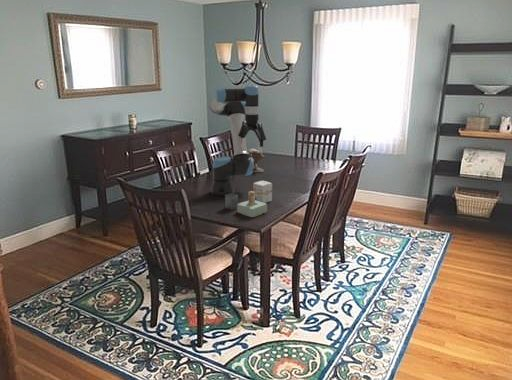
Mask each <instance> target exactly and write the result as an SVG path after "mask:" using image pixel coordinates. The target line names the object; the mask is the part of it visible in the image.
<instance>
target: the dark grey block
mask: <svg viewBox="0 0 512 380" xmlns="http://www.w3.org/2000/svg"><path fill="white" fill-rule="evenodd" d="M224 204H225V206H224V207H225V209H227V210H230V211H233V210H237V204H239V194H237V193H230V194H227V195H225V196H224Z"/></svg>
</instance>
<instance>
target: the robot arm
mask: <svg viewBox="0 0 512 380" xmlns="http://www.w3.org/2000/svg"><path fill="white" fill-rule="evenodd" d="M209 109H210V110H211V112H212V113H213V114H215V115H216V116H217V115H218V116H224V117H225V116H227V117H226V118H227V120H229V121H230V129H231V130H230V131H231V140H232V146H233V155H232V158H231V156H226V155H225V156H219V157H216V158H214V159H213V160H212V186H211V188H210V193H211V194H212V195H213V196H218V197H219V196H224V197H225V195H227V194H230V193H234V192H235V189H234V186H233V183H232V177H246V176H251V175H252V174H253V173H252V172H253V167H254V161H253V158H252V157H250V154H249V152H248V149H247V138H246V136H247V134H248V133H249V132H250V131H253V132H254V133H255V136H256V137H257V139H258V142H257V143H258V144H257V147H258V148H257V150H258V153H260V152H261V153H263V147H264V141H267V137H266V135H265V132H264V128H263V123H262V122H260V123H258V121H259V86H258V85H246V86H245V87H244V88H217V89H216V90H215V97H213V99H211V100H210V103H209ZM234 194H235V193H234Z"/></svg>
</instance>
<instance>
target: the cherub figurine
mask: <svg viewBox="0 0 512 380" xmlns="http://www.w3.org/2000/svg"><path fill="white" fill-rule="evenodd" d="M247 153H249V154H250V157H252V158H253V161H254V167H253V172H252V174H263V173H264V172H265V170H264V169H263V168H262V167H258V163H259V162H262V161H263V159H264V158H265V155H263V152H260V153H258V149H256V148H249V149H247Z"/></svg>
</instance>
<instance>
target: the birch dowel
mask: <svg viewBox="0 0 512 380" xmlns="http://www.w3.org/2000/svg"><path fill="white" fill-rule="evenodd" d="M247 193H248V195H247V196H248V200H247V201H248V204H249V205H251V206H254V205H255V192H254V191H253V190H251V191H248V192H247Z"/></svg>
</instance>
